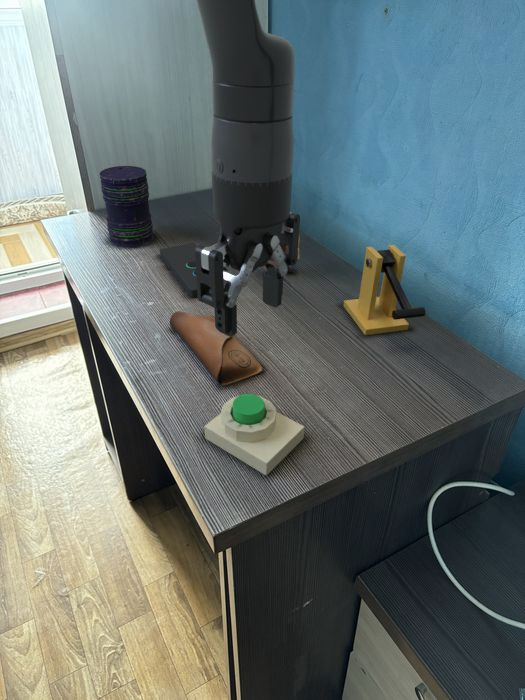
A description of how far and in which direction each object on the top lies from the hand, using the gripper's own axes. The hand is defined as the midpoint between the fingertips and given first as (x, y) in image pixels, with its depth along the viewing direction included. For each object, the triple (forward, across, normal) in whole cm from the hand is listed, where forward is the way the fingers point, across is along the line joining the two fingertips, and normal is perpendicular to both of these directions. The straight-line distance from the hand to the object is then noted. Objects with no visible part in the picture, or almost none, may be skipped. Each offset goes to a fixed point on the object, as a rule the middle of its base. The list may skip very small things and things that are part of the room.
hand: (250, 317), depth 57 cm
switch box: (+18, 0, -1) cm, 18 cm away
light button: (+14, 0, 0) cm, 14 cm away
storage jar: (+18, +32, +60) cm, 70 cm away
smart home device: (+18, +29, +38) cm, 51 cm away
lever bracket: (+18, +37, +1) cm, 41 cm away
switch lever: (+10, +34, -2) cm, 36 cm away
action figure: (+18, +40, +24) cm, 50 cm away
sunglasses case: (+18, +11, +16) cm, 27 cm away
